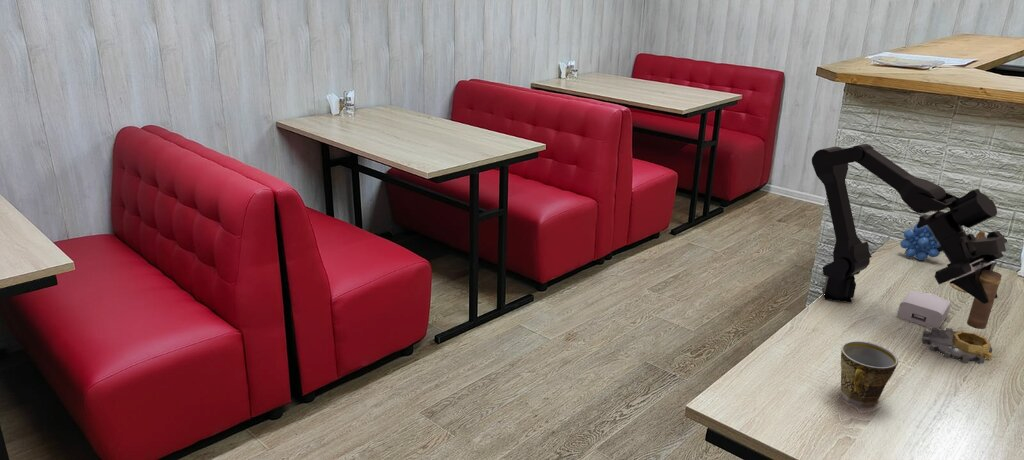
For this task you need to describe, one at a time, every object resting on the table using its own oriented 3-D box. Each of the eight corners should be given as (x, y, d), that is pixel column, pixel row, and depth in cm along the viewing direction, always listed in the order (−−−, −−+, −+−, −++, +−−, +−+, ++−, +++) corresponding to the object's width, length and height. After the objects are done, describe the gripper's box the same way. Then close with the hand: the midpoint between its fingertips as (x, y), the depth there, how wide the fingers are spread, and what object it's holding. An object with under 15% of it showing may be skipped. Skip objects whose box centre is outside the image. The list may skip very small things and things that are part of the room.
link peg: (973, 329, 155) (989, 277, 150) (962, 320, 158) (977, 269, 154) (990, 329, 155) (1006, 277, 150) (978, 320, 159) (994, 269, 154)
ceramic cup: (840, 377, 148) (850, 335, 144) (892, 396, 142) (903, 353, 139) (820, 405, 139) (830, 361, 135) (875, 426, 133) (887, 381, 129)
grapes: (944, 260, 208) (954, 222, 203) (940, 268, 203) (951, 229, 198) (900, 250, 214) (909, 213, 210) (895, 257, 209) (905, 219, 205)
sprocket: (929, 357, 157) (933, 344, 155) (915, 328, 169) (918, 316, 168) (1000, 368, 153) (1004, 355, 152) (980, 337, 165) (984, 325, 164)
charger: (952, 309, 179) (938, 330, 168) (912, 297, 185) (896, 318, 174) (957, 292, 177) (943, 313, 167) (916, 281, 183) (900, 300, 172)
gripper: (964, 228, 146) (1008, 297, 142) (1005, 213, 156) (1047, 276, 152) (917, 251, 155) (956, 316, 151) (958, 234, 165) (997, 295, 161)
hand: (991, 300), depth 153 cm, fingers closed on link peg, 4 cm apart
